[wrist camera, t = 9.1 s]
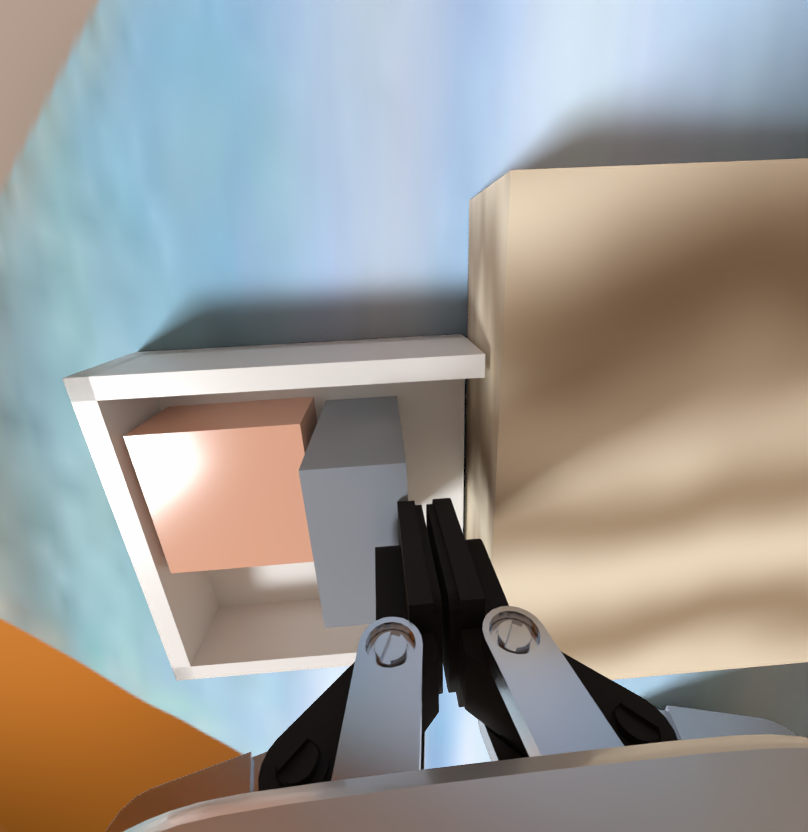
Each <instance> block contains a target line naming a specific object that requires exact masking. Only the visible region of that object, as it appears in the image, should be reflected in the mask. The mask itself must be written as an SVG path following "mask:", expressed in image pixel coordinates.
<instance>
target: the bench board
mask: <svg viewBox="0 0 808 832" xmlns="http://www.w3.org/2000/svg"><path fill="white" fill-rule="evenodd" d="M467 339H468V340H469V341H471V342H472V343H473V344H474V345H475V346H476V347H478V348H479V349H480V350H481V351H482V352H484V353H485V378H468V379H467V396H466V465H465V533H464V538H465V540H468V539H481V540H482V541H483V543H484V546H485V548H486V551H487V553H488V556H489V558H490V560H491V563H492V565H493V568H494V570H495V573H496V575H497V577H498V580H499V582H500V585H501V587H502V590H503V592H504V594H505V597H506V599H507V602H508V604H509V606H514V607H519V608H522V609H524V610H526V611H529V612H530V613H531V614H533V615H534V616H536V617H537V618H538V619H539V621H540V622H541V623H542V624H543V625H544V627H545V628H546V630H547V631H548V633H549V634H550V636H551V637H552V639H553V640H554V642H555V643H556V645H557V646H558V648H559V649H560V651H561V652H563V653H565V654H566V655H568V656H570V657H572V658H573V659H575V660H577V661H579V662H580V663H582V664H584V665H586V666H587V667H589V668H591V669H593V670H594V671H596V672H598V673H600V674H601V675H603V676H605V677H607V678H608V679H610V680H615V679H626V678H637V677H648V676H659V675H670V674H681V673H692V672H703V671H714V670H726V669H737V668H748V667H759V666H770V665H781V664H792V663H803V662H808V158H802V159H777V160H752V161H727V162H701V163H676V164H651V165H625V166H600V167H575V168H550V169H524V170H510V171H509V172H508V173H506V174H505V175H503V176H502V177H501V178H499V179H498V180H497V181H495V182H494V183H492V184H491V185H490V186H488V187H487V188H486V189H484V190H483V191H482V192H480V193H479V194H477V195H476V196H475V197H473V198H472V199H471V200H469V259H468V328H467Z"/></svg>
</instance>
